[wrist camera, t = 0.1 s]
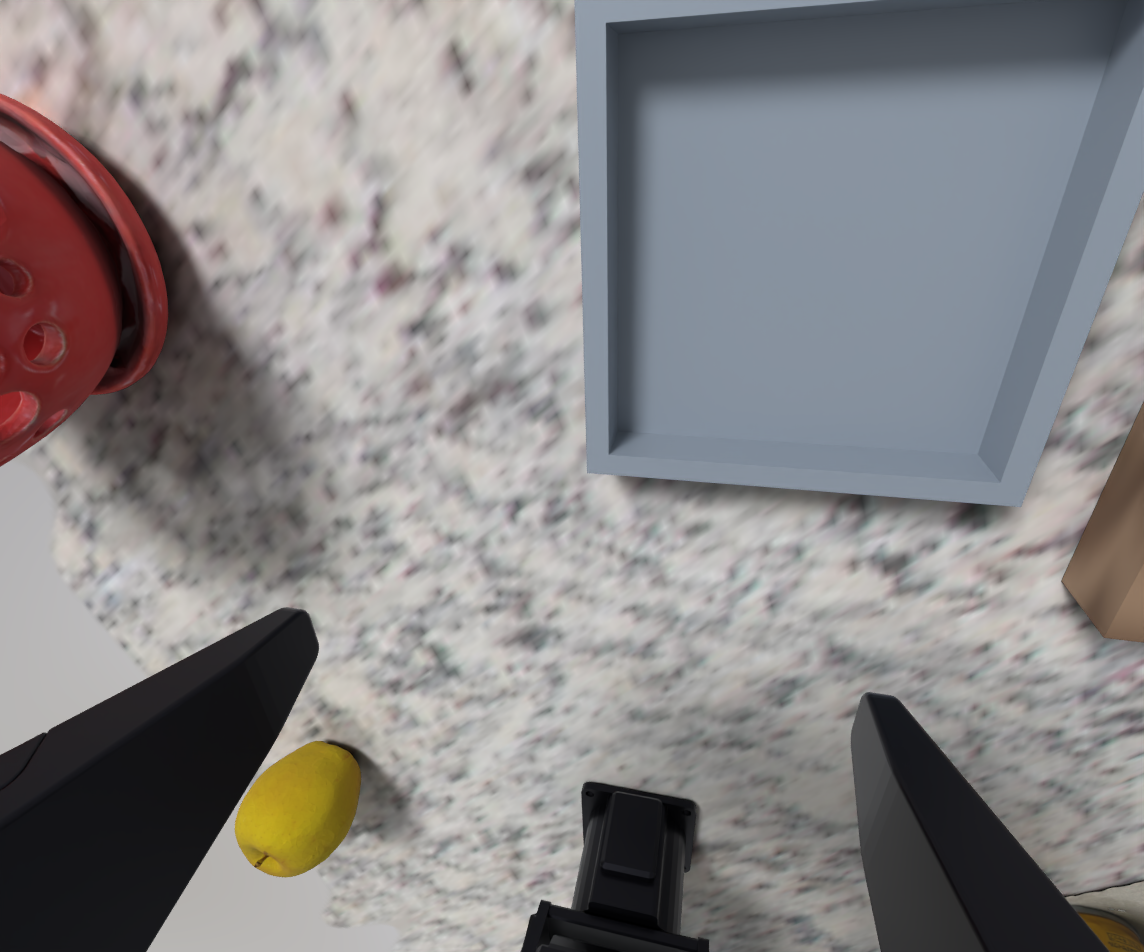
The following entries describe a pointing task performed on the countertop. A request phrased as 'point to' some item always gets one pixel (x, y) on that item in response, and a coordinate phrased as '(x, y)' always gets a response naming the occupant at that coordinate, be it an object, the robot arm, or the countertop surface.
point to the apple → (299, 810)
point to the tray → (848, 234)
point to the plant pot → (67, 281)
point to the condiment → (1114, 916)
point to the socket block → (1115, 549)
